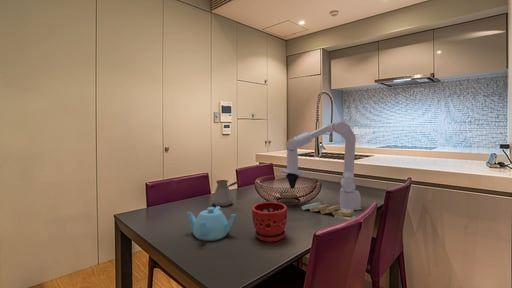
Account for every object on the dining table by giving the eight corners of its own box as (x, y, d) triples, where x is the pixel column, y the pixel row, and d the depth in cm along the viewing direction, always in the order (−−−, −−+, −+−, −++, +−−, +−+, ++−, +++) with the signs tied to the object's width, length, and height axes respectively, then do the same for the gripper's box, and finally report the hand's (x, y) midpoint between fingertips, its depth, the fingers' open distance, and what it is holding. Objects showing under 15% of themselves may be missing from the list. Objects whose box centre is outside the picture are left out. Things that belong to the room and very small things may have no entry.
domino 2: (320, 210, 134) (334, 206, 129) (324, 208, 138) (339, 204, 133) (321, 214, 134) (336, 210, 129) (326, 211, 138) (340, 207, 133)
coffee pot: (207, 204, 153) (207, 176, 152) (225, 200, 160) (225, 174, 159) (230, 213, 136) (229, 182, 135) (248, 209, 144) (248, 179, 143)
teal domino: (301, 206, 141) (314, 204, 136) (306, 204, 145) (319, 202, 140) (302, 209, 141) (315, 207, 136) (307, 207, 145) (320, 205, 139)
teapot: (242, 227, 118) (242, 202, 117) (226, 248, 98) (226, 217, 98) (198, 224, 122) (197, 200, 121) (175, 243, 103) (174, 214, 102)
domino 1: (309, 208, 138) (323, 206, 133) (314, 206, 142) (328, 203, 136) (310, 211, 138) (324, 209, 132) (315, 209, 141) (329, 207, 136)
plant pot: (254, 230, 114) (254, 201, 114) (287, 231, 113) (286, 201, 112) (250, 244, 102) (249, 211, 101) (287, 245, 100) (287, 211, 99)
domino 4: (334, 215, 129) (351, 219, 123) (340, 213, 132) (356, 216, 127) (334, 219, 129) (351, 223, 123) (340, 216, 132) (356, 220, 127)
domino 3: (332, 211, 130) (350, 212, 125) (336, 208, 134) (353, 210, 130) (332, 215, 130) (350, 216, 125) (336, 212, 134) (353, 213, 130)
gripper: (276, 161, 149) (276, 187, 150) (299, 164, 139) (299, 191, 139) (285, 160, 154) (285, 185, 155) (307, 162, 144) (307, 189, 145)
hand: (292, 188), depth 147 cm, fingers closed
